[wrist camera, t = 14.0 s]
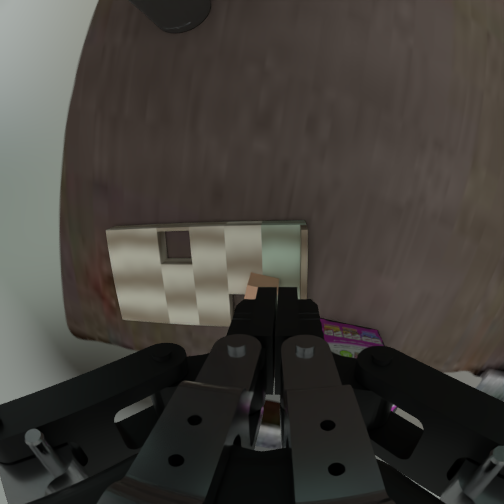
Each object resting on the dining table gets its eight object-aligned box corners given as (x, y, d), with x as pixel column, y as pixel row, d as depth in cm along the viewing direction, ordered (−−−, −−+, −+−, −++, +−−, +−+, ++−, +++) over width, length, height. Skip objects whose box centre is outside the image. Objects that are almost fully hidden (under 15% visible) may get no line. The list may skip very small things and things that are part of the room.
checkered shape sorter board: (115, 226, 46) (95, 235, 40) (304, 220, 43) (307, 229, 37) (130, 311, 50) (114, 327, 45) (303, 317, 47) (305, 337, 41)
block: (251, 272, 42) (247, 284, 38) (279, 278, 42) (278, 291, 38) (245, 297, 44) (241, 311, 39) (272, 303, 44) (271, 318, 39)
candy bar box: (307, 341, 48) (313, 413, 33) (317, 316, 47) (327, 385, 31) (367, 353, 48) (390, 420, 32) (379, 329, 46) (408, 394, 31)
